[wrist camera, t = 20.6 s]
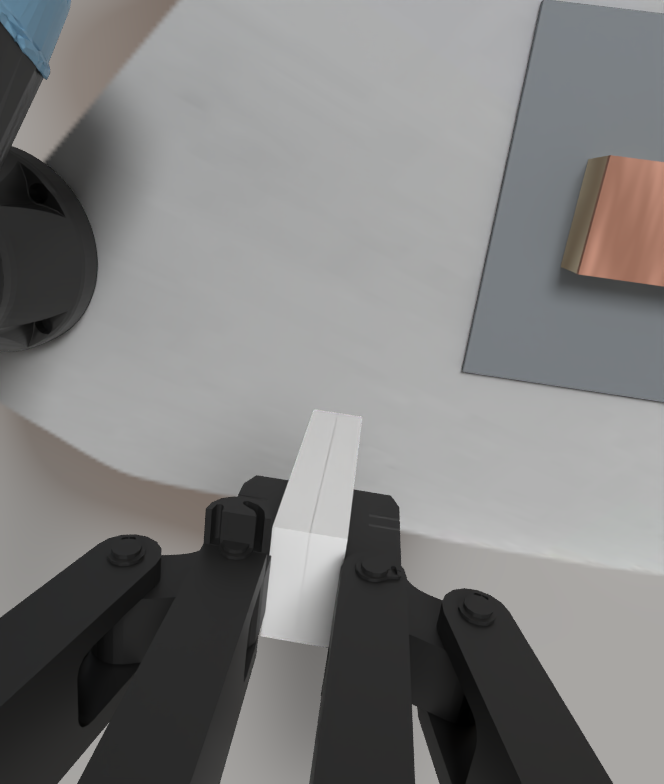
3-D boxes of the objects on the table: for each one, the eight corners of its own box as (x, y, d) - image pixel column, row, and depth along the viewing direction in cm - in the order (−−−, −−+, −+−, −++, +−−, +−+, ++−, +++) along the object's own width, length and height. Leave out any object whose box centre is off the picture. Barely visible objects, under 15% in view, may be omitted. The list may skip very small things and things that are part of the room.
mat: (462, 369, 44) (463, 371, 43) (541, 2, 36) (543, -1, 35) (703, 405, 43) (707, 408, 42) (840, 38, 35) (847, 35, 34)
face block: (578, 274, 36) (740, 297, 36) (610, 155, 34) (784, 178, 33) (560, 266, 40) (706, 287, 39) (588, 159, 38) (744, 179, 37)
